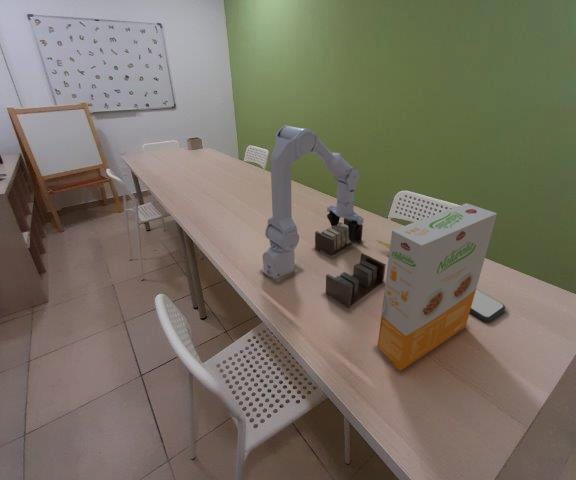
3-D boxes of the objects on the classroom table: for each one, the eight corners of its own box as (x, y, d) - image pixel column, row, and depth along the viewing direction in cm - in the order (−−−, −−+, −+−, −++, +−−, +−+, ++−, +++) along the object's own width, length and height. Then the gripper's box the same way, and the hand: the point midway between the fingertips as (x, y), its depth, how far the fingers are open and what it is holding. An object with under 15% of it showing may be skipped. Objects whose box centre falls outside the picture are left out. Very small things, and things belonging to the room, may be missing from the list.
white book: (347, 244, 106) (348, 228, 103) (336, 239, 109) (336, 223, 107) (350, 242, 107) (351, 227, 104) (339, 237, 110) (340, 222, 108)
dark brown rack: (331, 258, 100) (332, 239, 97) (314, 249, 105) (315, 231, 102) (361, 241, 109) (363, 224, 106) (344, 234, 114) (345, 217, 112)
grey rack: (347, 311, 77) (349, 289, 75) (325, 295, 83) (325, 275, 80) (383, 284, 87) (386, 264, 84) (360, 272, 92) (362, 252, 90)
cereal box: (441, 311, 76) (466, 203, 64) (465, 327, 71) (497, 213, 59) (377, 349, 66) (392, 230, 54) (399, 371, 61) (421, 245, 49)
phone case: (506, 310, 76) (448, 276, 89) (507, 306, 76) (449, 272, 88) (486, 324, 72) (428, 287, 85) (487, 320, 72) (429, 282, 84)
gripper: (370, 203, 99) (367, 238, 104) (336, 191, 109) (335, 225, 115) (357, 209, 95) (354, 246, 100) (323, 196, 105) (322, 231, 110)
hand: (343, 235), depth 107 cm, fingers open, 7 cm apart
